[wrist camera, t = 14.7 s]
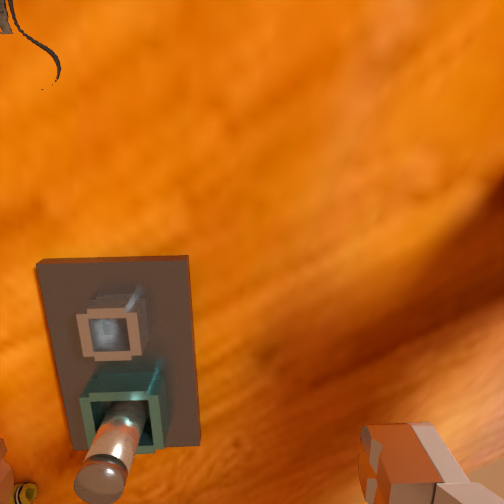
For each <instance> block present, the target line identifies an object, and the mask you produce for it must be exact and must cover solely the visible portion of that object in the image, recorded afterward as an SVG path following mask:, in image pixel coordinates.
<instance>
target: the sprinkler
mask: <svg viewBox="0 0 504 504" xmlns="http://www.w3.org/2000/svg"><path fill="white" fill-rule="evenodd" d="M37 495H38V490H37V487H36V484H32V483H25V484H24V483H19V484H16V485H14V486H13V490H12V493H11V496H10V499H9V502H8V504H32V503H33V502H34V501H35V498H36V497H37Z"/></svg>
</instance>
